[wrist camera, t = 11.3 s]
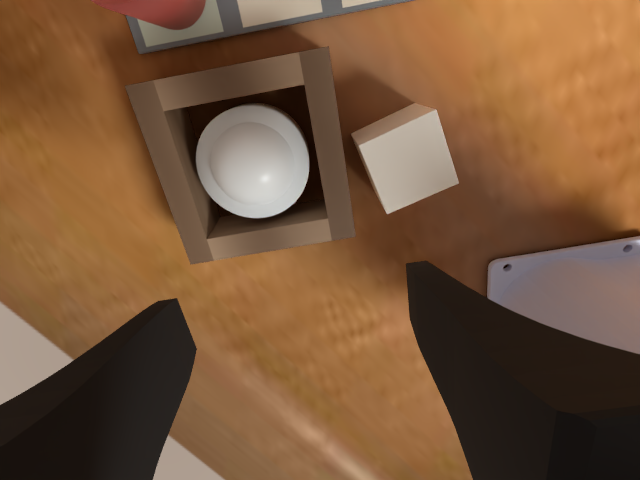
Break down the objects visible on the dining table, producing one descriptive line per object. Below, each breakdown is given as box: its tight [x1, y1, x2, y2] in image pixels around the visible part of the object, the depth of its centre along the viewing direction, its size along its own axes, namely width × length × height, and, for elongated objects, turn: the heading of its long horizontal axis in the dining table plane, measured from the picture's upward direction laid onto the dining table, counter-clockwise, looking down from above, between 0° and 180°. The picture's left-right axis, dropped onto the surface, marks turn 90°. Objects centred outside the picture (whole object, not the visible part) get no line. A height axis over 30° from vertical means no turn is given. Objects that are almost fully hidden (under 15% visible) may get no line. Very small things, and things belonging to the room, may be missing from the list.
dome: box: [196, 103, 309, 218], centre depth 17 cm, size 5×5×4 cm
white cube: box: [351, 103, 459, 214], centre depth 18 cm, size 4×4×4 cm
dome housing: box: [125, 46, 356, 264], centre depth 18 cm, size 8×8×3 cm
